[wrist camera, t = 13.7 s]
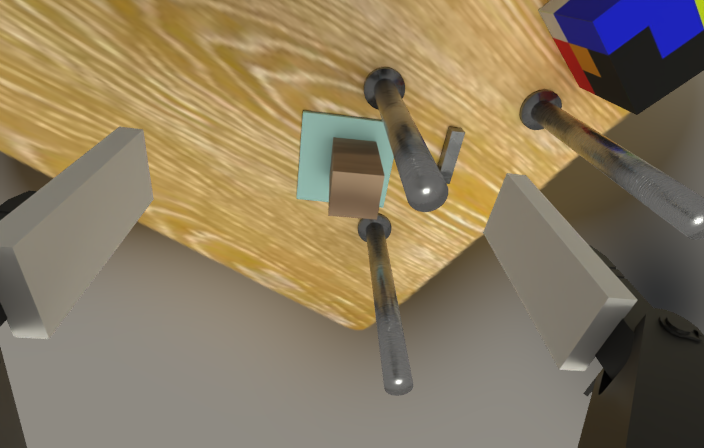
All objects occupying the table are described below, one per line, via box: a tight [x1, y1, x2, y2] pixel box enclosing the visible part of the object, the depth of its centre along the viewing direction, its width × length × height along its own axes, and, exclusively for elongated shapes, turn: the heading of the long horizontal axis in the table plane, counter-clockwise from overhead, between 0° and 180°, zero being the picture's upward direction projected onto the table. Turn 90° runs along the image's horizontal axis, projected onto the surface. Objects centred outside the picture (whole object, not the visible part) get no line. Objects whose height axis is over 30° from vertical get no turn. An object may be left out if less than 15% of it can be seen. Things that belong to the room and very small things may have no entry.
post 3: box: [520, 90, 704, 239], centre depth 35 cm, size 4×4×24 cm
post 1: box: [364, 67, 448, 212], centre depth 33 cm, size 4×4×24 cm
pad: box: [297, 110, 394, 208], centre depth 47 cm, size 11×11×1 cm
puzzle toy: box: [538, 0, 704, 115], centre depth 36 cm, size 10×10×10 cm
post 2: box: [358, 214, 413, 395], centre depth 43 cm, size 4×4×24 cm
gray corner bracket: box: [437, 127, 465, 184], centre depth 47 cm, size 6×6×2 cm
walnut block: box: [328, 137, 385, 220], centre depth 43 cm, size 5×5×9 cm
